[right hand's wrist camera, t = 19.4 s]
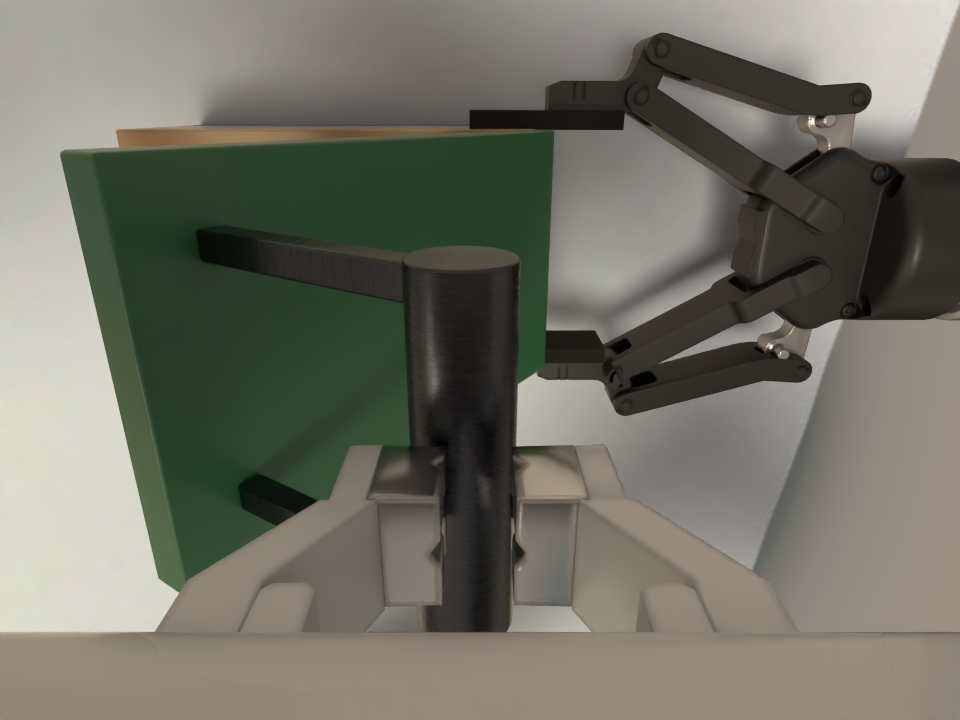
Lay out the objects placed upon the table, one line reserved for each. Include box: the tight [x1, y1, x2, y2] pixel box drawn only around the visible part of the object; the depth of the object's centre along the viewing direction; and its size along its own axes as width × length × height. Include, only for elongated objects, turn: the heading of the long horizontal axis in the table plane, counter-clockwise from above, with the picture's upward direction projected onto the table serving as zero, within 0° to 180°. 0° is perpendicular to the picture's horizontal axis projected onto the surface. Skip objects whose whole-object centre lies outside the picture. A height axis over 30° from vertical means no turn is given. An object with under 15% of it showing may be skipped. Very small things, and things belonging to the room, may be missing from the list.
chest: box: [116, 125, 536, 148], centre depth 31 cm, size 17×10×9 cm, turn 90°
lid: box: [60, 130, 554, 632], centre depth 18 cm, size 17×10×9 cm
